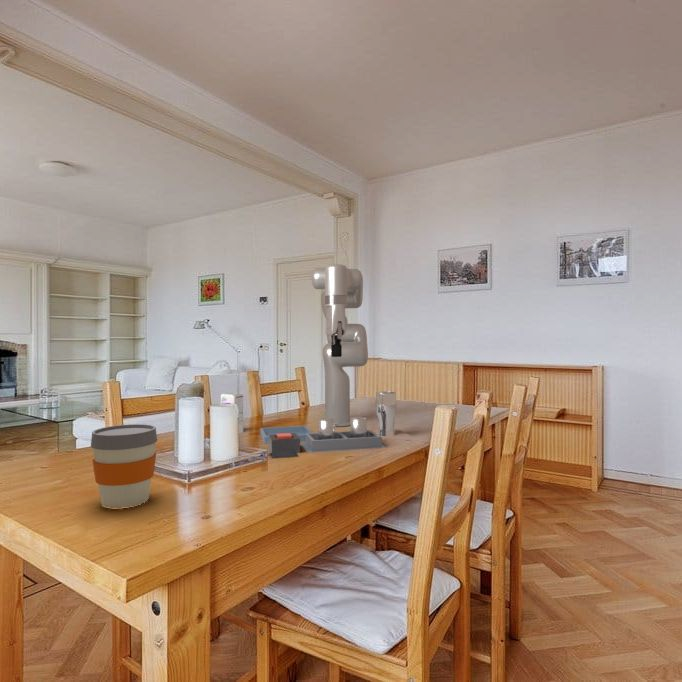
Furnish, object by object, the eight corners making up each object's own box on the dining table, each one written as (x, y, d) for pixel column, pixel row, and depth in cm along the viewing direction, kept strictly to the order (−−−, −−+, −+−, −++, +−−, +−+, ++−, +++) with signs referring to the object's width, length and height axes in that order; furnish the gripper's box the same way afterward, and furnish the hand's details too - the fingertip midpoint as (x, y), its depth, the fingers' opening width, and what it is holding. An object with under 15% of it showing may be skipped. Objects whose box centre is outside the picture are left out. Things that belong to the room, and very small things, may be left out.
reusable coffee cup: (89, 516, 92) (88, 438, 92) (93, 496, 104) (92, 426, 104) (159, 507, 97) (158, 432, 97) (156, 489, 109) (155, 422, 109)
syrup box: (220, 437, 165) (219, 394, 164) (230, 433, 170) (229, 392, 170) (234, 438, 162) (233, 395, 162) (244, 434, 168) (243, 393, 168)
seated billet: (348, 442, 150) (348, 417, 150) (364, 441, 151) (364, 416, 151) (353, 446, 145) (352, 419, 145) (369, 445, 146) (368, 418, 146)
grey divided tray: (300, 446, 150) (300, 433, 150) (374, 441, 156) (374, 429, 156) (307, 456, 138) (307, 442, 137) (387, 450, 143) (387, 437, 143)
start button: (276, 444, 142) (276, 433, 142) (290, 443, 143) (290, 433, 143) (278, 447, 138) (277, 436, 138) (292, 446, 139) (292, 435, 139)
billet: (317, 444, 147) (317, 418, 147) (333, 443, 148) (333, 417, 148) (319, 448, 143) (319, 421, 142) (336, 447, 143) (336, 420, 143)
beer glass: (396, 435, 166) (396, 391, 166) (396, 439, 159) (396, 393, 159) (375, 434, 166) (375, 391, 166) (375, 439, 160) (375, 393, 159)
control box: (269, 451, 143) (268, 434, 143) (295, 449, 145) (295, 433, 145) (271, 458, 136) (271, 440, 136) (300, 456, 138) (300, 438, 137)
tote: (260, 436, 164) (260, 428, 164) (305, 434, 168) (305, 425, 168) (264, 447, 149) (264, 437, 149) (314, 444, 153) (314, 434, 153)
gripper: (320, 303, 169) (321, 356, 169) (330, 300, 154) (330, 357, 154) (341, 303, 170) (341, 355, 171) (352, 300, 156) (353, 357, 156)
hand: (336, 356), depth 162 cm, fingers closed
